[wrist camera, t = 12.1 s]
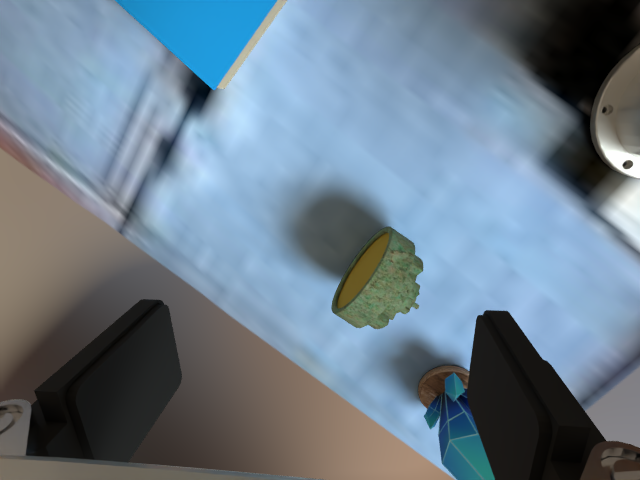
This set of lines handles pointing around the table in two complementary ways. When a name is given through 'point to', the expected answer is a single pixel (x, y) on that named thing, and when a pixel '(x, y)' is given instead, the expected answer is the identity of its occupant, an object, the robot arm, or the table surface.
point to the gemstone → (454, 422)
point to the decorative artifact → (379, 281)
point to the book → (207, 31)
